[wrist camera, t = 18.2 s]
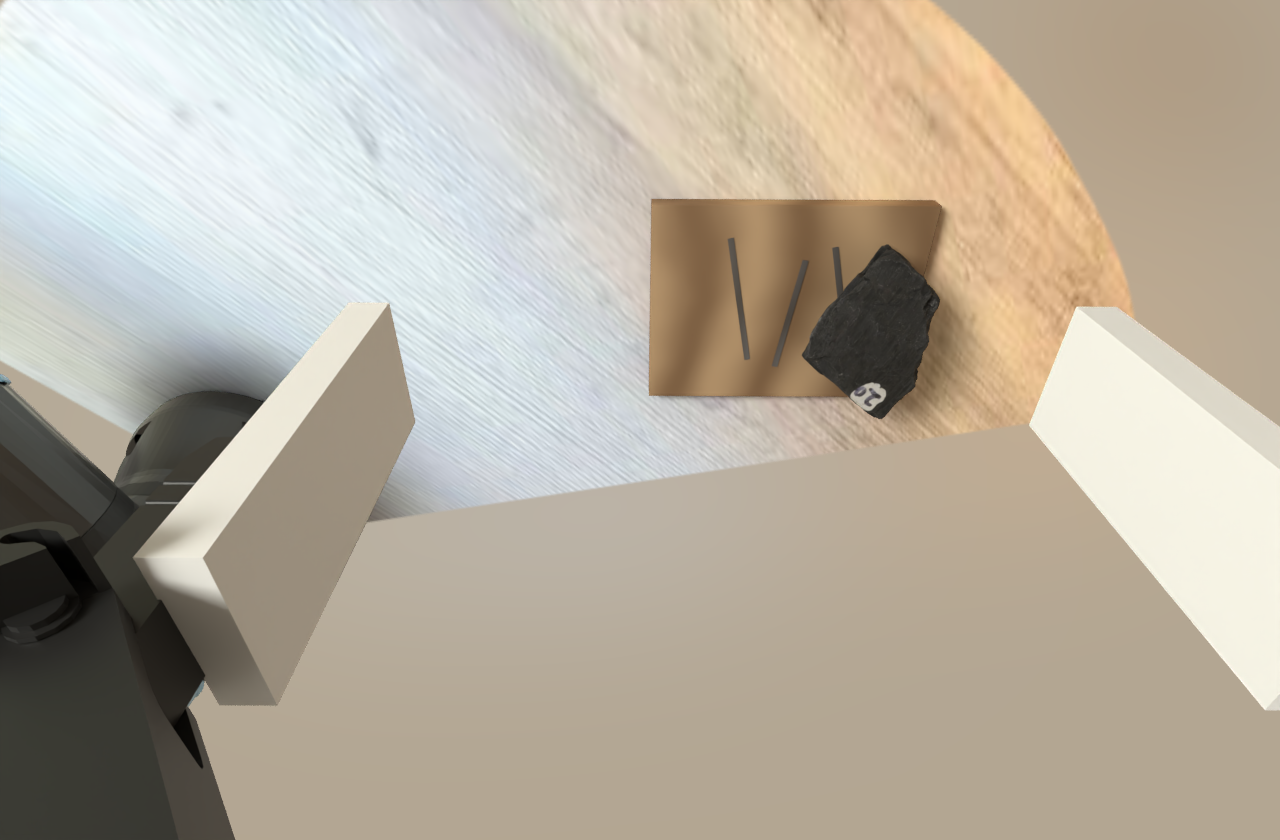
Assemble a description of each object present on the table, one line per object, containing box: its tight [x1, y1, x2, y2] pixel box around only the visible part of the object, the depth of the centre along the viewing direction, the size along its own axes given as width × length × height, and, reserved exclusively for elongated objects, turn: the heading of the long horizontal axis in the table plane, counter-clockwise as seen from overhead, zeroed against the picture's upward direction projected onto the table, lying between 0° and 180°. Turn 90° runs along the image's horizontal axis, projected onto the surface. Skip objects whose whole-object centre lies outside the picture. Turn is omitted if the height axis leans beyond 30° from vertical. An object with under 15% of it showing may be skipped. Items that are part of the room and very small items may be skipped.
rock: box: [802, 244, 940, 419], centre depth 44 cm, size 9×10×6 cm
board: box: [649, 199, 942, 397], centre depth 46 cm, size 18×14×1 cm
